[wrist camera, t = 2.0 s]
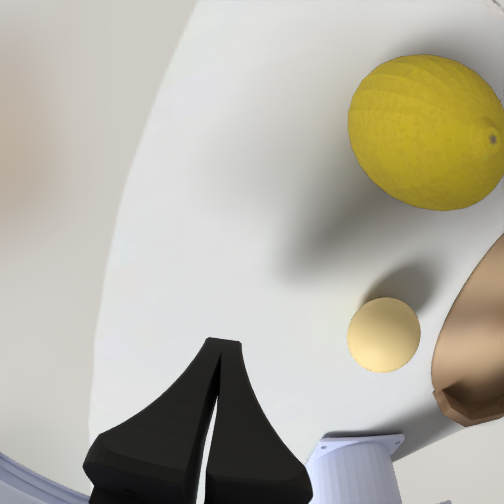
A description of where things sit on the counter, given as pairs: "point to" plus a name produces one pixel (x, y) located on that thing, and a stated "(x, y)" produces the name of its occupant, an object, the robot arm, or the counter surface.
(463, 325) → the groove tray
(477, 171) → the lemon
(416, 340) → the pale yellow ball
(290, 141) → the counter surface
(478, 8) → the counter surface
